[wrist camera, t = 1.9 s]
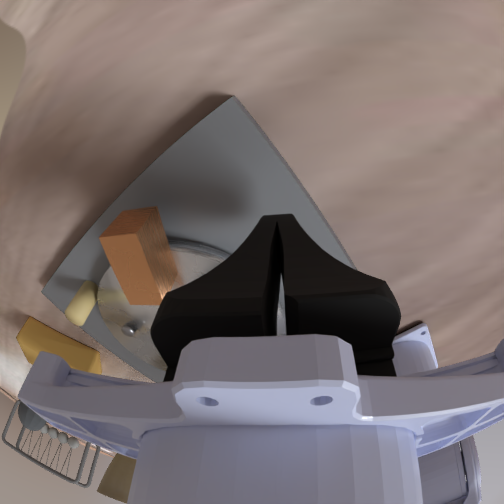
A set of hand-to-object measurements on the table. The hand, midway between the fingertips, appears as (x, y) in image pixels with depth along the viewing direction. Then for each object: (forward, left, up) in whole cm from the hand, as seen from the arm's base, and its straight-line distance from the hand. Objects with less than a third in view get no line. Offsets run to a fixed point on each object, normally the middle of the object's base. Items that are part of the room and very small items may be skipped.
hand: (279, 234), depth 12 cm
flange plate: (-2, +9, -2) cm, 9 cm away
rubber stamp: (0, +29, -4) cm, 30 cm away
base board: (-3, +9, -3) cm, 10 cm away
